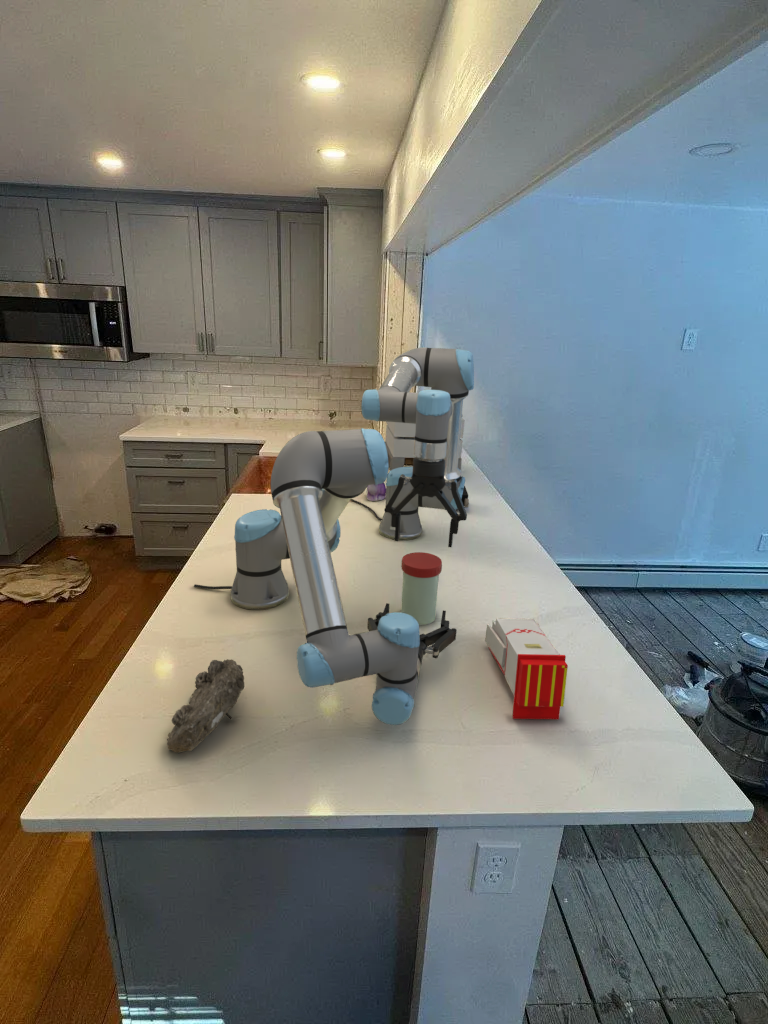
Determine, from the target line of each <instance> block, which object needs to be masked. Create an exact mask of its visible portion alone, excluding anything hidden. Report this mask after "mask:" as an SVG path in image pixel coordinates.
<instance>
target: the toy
mask: <svg viewBox="0 0 768 1024" xmlns="http://www.w3.org/2000/svg"><path fill="white" fill-rule="evenodd" d="M484 642H485V643H486V645H487V646H488V650H489V651H490V654H491V655H492V657H493V659H494V660H495V662H496V664H497V666H498V667H499V669H500V671H501V672H502V675H503V676H504V678H505V680H506V682H507V684H508V686H509V688H510V691H511V693H512V694H513V704H512V705H513V706H512V715H511V717H512V719H513V720H560V714H561V708H563V707H564V704H565V695H566V685H567V677H568V668H569V666H568V663H567V662H566V657H567V656H566V654H560V653H559V651H558V650H557V648H556V647H555V646H554V645H553V643H552V642H551V640H550V639H549V638H548V636H547V635H546V634H545V632H544V631H543V629H542V628H541V627H540V625H539V623H537V621H536V620H535V619H534V618H523V617H522V618H521V617H520V618H519V617H516V618H515V617H496V618H495V620H492V622H491V624H490V623H486V629H485V637H484Z"/></svg>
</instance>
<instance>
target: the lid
mask: <svg viewBox="0 0 768 1024" xmlns="http://www.w3.org/2000/svg"><path fill="white" fill-rule="evenodd" d="M400 568H401V570H402V573H403V572H404V573H406V574H408V575H410V576H413V577H418V578H430V577H435V576H437V575H439V576H440V574H441V573H442V569H443V560H442V559H441V558H440V557H439V556H438V555H435V554H432V553H429V552H422V551H420V552H419V551H418V552H417V551H416V552H409V553H407V554H405V555H403V556H402V557H401V565H400Z"/></svg>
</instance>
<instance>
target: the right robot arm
mask: <svg viewBox="0 0 768 1024" xmlns="http://www.w3.org/2000/svg"><path fill="white" fill-rule="evenodd" d="M474 363H475V362H474V356H473V352H472V351H470V350H467V349H459V348H441V347H427V346H426V347H425V346H424V347H416V348H412V349H409V350H407V351H404V352H402V353H401V354H399V355H398V356H397V357H395V358H394V359H393V361H392V362H391V364H390V366H389V368H388V374H387V376H386V377H385V379H384V381H383V382H382V384H381V385H380V386H379V388H378V389H375V388H374V389H366V390H364V392H363V394H362V397H361V415H362V418H364V420H368V421H375V422H385V423H386V422H400V423H412V424H416V430H415V440H414V456H415V458H414V459H413V466H404V467H400V468H396V469H393V470H391V471H390V470H389V471H388V475H387V479H386V481H385V486H386V496H385V504H384V505H385V507H384V509H383V510H384V513H383V515H382V517H379V516H378V514H377V513H376V511H375V510H373V509H372V508H371V507H369V506H368V505H366V504H364V503H362V502H360V501H358V500H355V499H354V498H352V499H351V500H350V501H351V502H354V503H356V504H358V505H360V506H362V507H364V508H365V509H368V510H369V511H370V512H372V513H373V514H374V516H375V518H377V520H379V521H381V522H379V525H378V533H379V534H380V535H381V536H382V537H385V538H387V539H389V540H394V542H398V541H410V540H415V539H418V538H420V537H421V536H422V535H423V525H422V524H421V518H420V515H419V508H428V509H437V510H444V511H446V512H447V514H448V516H449V517H451V518H450V523H449V535H448V543H447V545H448V548H452V546H453V540H454V539H453V538H454V535H457V534H458V533H459V524H460V522H461V521H466V520H467V517H468V513H467V511H466V507H464V505H463V502H462V500H461V498H462V494H463V489H464V486H466V485H465V484H466V477H465V476H463V475H462V469H461V470H460V469H459V468H458V455H459V443H460V439H461V438H460V431H461V418H462V419H463V403H464V400H465V399H466V398H467V397H469V394H470V393H469V392H470V391H472V390H474V388H475V364H474ZM413 387H424V388H430V389H423V390H420V391H419V392H413V391H412V392H411V390H412V388H413ZM456 509H457V511H458V512H457V511H456Z"/></svg>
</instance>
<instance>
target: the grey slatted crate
mask: <svg viewBox="0 0 768 1024" xmlns="http://www.w3.org/2000/svg"><path fill="white" fill-rule="evenodd" d="M385 423H386V428H385V438H384V442H385V445H386V449H387V454H388V468H389V472H390V471H391V470H393V469H396V468H400V467H405V466H406V467H413V459H414V458H415V456H414V440H415V430H416V424H412V423H400V422H385ZM464 429H465V419H464V418H463V417H462V418H461V431H460V443H459V455H458V468H459V469H460V470H461V471H462V461H463V460H462V453H463V442H464V441H463V440H462V439H463V438H464V431H465V430H464Z"/></svg>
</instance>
